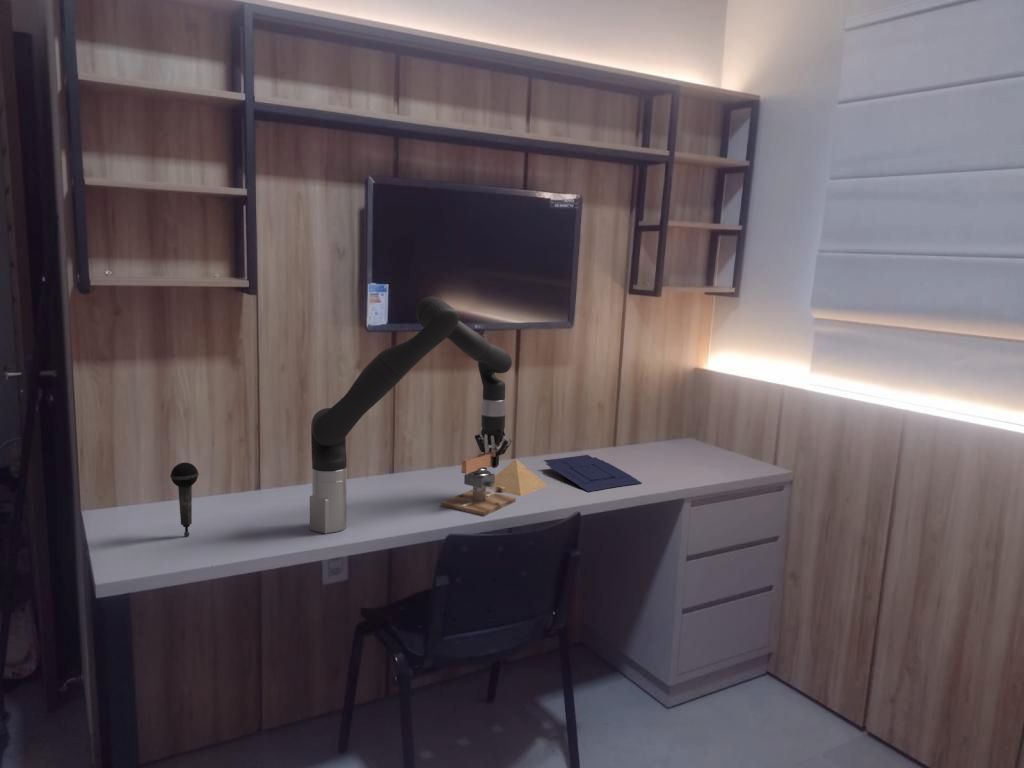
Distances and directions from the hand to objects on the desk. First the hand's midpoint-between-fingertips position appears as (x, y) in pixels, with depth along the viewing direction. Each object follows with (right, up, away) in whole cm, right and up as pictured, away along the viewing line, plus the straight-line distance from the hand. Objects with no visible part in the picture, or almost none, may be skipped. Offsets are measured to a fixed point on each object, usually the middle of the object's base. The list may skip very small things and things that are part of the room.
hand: (492, 466), depth 236 cm
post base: (-4, -11, -4) cm, 12 cm away
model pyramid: (+7, -9, +16) cm, 20 cm away
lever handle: (-4, -5, -5) cm, 8 cm away
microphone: (-80, -14, -39) cm, 90 cm away
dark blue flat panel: (+34, -8, +31) cm, 47 cm away
